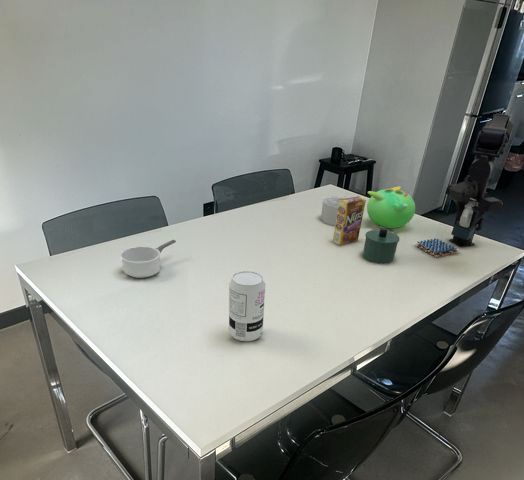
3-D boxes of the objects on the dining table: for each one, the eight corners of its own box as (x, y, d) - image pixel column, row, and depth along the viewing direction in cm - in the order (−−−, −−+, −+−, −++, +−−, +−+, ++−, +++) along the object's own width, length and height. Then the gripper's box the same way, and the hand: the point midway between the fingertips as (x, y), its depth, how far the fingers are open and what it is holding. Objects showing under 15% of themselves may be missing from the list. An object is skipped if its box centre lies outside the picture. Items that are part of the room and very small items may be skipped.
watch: (474, 234, 150) (487, 202, 143) (464, 241, 145) (477, 208, 138) (458, 229, 153) (470, 196, 146) (448, 235, 148) (459, 202, 141)
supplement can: (228, 324, 115) (228, 270, 106) (261, 324, 116) (264, 270, 107) (229, 343, 108) (229, 286, 100) (263, 342, 109) (267, 286, 101)
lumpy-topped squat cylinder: (343, 228, 175) (347, 205, 170) (315, 220, 181) (317, 197, 176) (356, 221, 181) (360, 199, 176) (328, 213, 188) (331, 192, 183)
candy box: (340, 246, 160) (347, 202, 151) (332, 241, 163) (338, 198, 154) (358, 241, 165) (366, 199, 156) (350, 237, 167) (357, 195, 159)
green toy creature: (415, 225, 181) (425, 187, 173) (401, 238, 169) (411, 198, 161) (372, 215, 189) (379, 178, 180) (356, 226, 177) (363, 188, 168)
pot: (382, 250, 159) (386, 230, 155) (399, 262, 152) (404, 241, 148) (357, 253, 156) (360, 233, 152) (373, 265, 148) (377, 245, 144)
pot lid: (386, 231, 156) (388, 221, 154) (405, 244, 148) (408, 233, 146) (358, 234, 153) (360, 224, 150) (376, 247, 144) (378, 236, 142)
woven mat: (436, 258, 156) (437, 252, 155) (414, 246, 163) (415, 241, 162) (458, 253, 160) (459, 248, 159) (435, 242, 167) (437, 237, 166)
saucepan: (189, 261, 144) (188, 244, 141) (141, 284, 130) (139, 266, 127) (162, 251, 149) (161, 235, 146) (113, 272, 135) (111, 254, 132)
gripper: (438, 167, 142) (425, 216, 151) (482, 184, 128) (465, 237, 137) (466, 165, 146) (452, 213, 155) (512, 181, 132) (493, 233, 141)
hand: (464, 224), depth 147 cm, fingers closed on watch, 5 cm apart
